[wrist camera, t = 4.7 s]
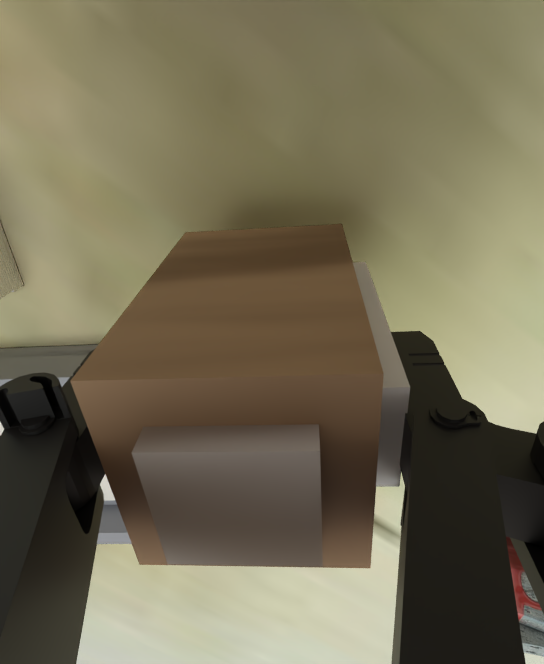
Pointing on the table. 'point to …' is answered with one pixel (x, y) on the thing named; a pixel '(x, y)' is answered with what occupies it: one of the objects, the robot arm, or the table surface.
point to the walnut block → (242, 404)
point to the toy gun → (526, 607)
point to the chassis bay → (62, 364)
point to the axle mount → (7, 268)
